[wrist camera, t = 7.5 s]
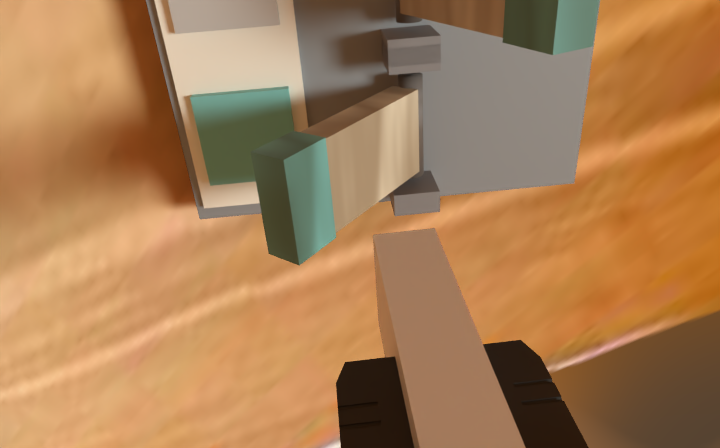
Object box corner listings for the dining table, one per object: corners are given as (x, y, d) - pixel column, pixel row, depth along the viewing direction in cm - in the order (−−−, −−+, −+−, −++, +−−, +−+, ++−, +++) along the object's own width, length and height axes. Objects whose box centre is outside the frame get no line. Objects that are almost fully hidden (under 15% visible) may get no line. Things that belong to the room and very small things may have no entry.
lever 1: (405, 166, 25) (270, 260, 19) (402, 70, 23) (248, 142, 17) (431, 172, 24) (300, 272, 18) (431, 73, 22) (282, 150, 16)
